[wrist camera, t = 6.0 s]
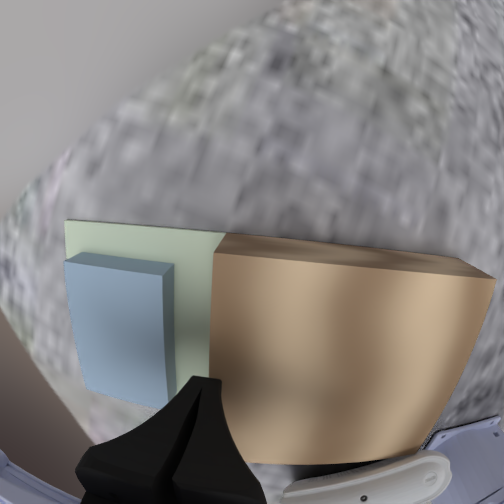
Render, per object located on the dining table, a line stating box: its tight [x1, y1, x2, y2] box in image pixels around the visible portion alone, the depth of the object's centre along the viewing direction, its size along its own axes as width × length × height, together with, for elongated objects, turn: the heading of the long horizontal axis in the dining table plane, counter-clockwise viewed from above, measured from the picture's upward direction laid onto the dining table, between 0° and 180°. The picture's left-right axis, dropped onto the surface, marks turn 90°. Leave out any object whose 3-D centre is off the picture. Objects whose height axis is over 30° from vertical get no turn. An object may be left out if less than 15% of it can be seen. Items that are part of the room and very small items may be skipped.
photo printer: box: [280, 450, 452, 504], centre depth 16 cm, size 10×4×12 cm
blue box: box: [64, 252, 177, 409], centre depth 16 cm, size 6×9×2 cm, turn 175°
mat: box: [64, 220, 226, 394], centre depth 17 cm, size 10×13×1 cm
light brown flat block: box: [209, 233, 497, 465], centre depth 15 cm, size 14×13×4 cm
